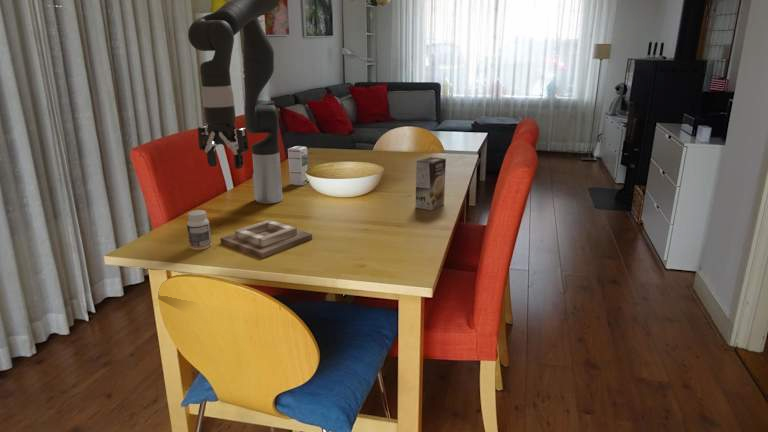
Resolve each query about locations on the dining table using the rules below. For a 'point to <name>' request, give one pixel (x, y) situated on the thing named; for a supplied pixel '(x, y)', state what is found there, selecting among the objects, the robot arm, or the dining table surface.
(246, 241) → the socket block
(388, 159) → the dining table surface
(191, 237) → the pill bottle
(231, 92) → the robot arm
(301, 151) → the syrup box
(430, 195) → the coffee box
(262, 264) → the dining table surface
